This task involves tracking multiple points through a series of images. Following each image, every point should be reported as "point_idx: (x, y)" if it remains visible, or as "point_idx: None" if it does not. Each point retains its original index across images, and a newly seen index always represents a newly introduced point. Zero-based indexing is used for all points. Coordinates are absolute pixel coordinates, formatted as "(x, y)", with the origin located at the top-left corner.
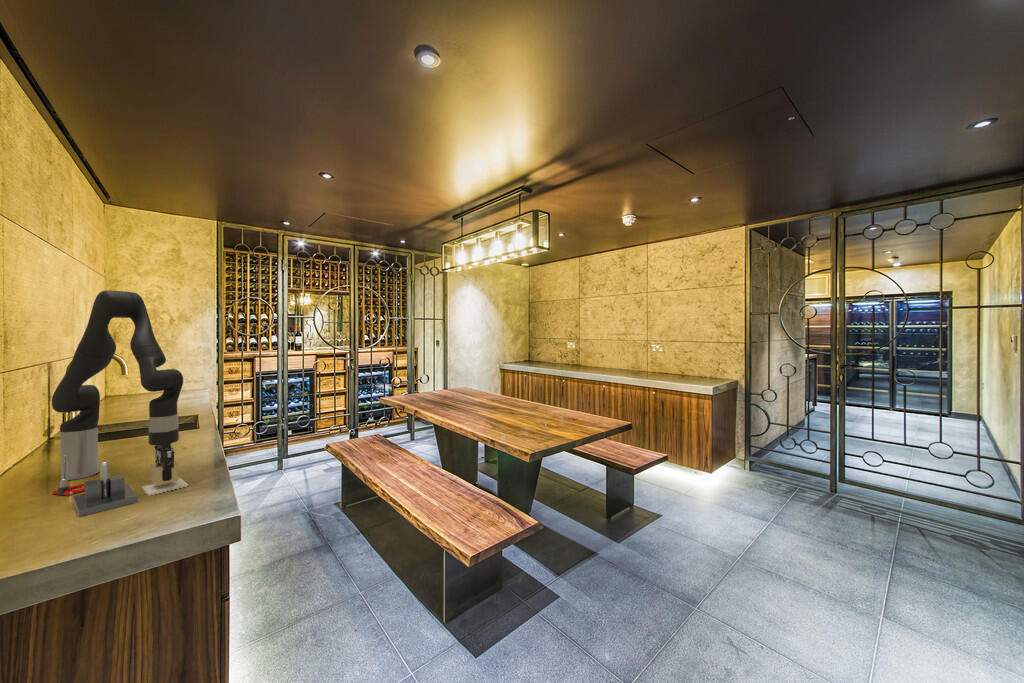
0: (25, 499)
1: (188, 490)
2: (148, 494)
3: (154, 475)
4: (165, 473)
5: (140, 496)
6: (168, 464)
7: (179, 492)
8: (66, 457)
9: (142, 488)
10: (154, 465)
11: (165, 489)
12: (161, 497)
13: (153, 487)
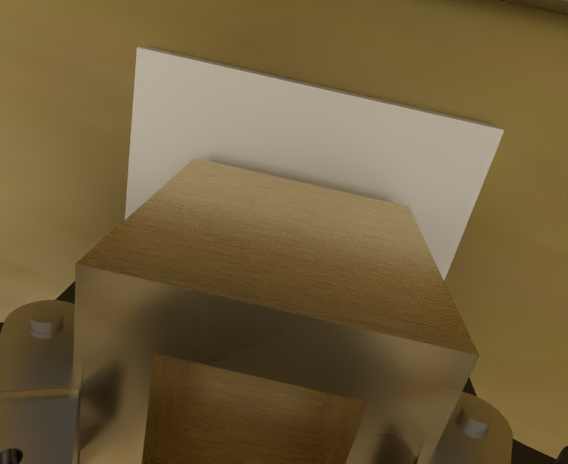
0: None
1: (18, 289)
2: (139, 49)
3: (220, 211)
4: (71, 294)
5: (236, 7)
6: (99, 448)
7: (25, 235)
8: None
9: (452, 117)
10: (287, 331)
11: (140, 198)
12: (8, 99)
13: (332, 175)
